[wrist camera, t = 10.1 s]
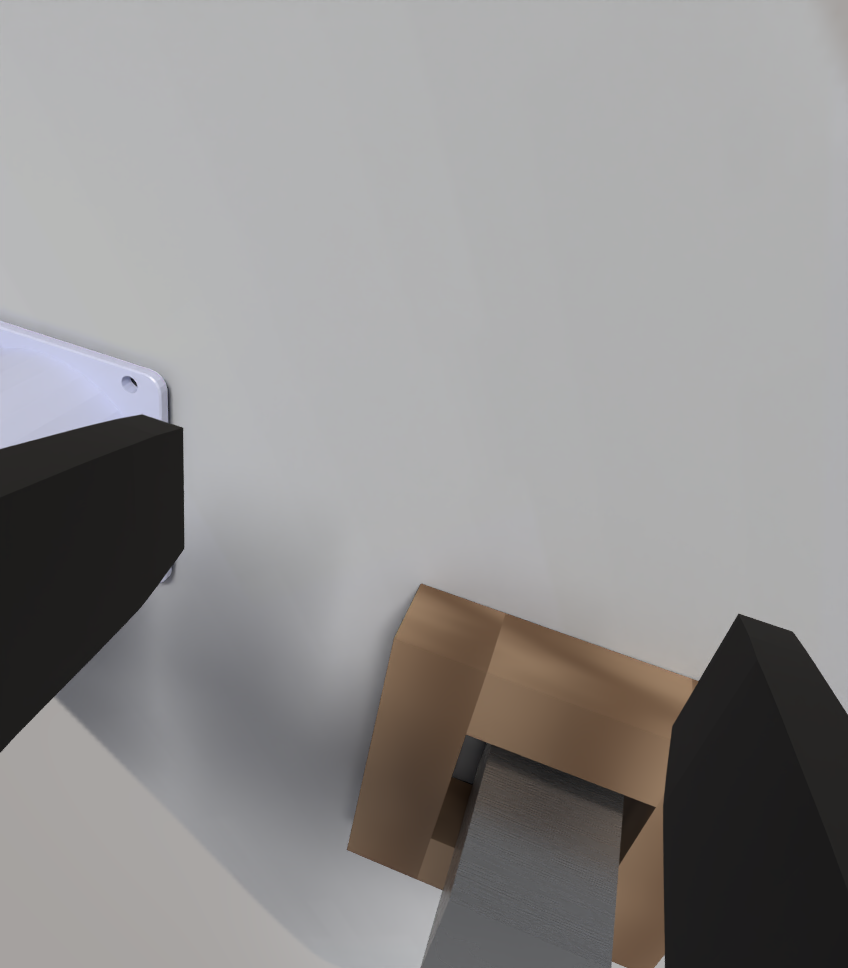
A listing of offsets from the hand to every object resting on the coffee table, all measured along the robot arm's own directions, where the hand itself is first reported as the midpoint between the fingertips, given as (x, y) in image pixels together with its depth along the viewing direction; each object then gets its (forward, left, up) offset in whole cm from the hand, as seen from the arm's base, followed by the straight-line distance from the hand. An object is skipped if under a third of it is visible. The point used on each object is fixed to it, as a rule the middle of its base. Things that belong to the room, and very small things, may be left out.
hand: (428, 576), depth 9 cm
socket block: (+4, -14, -9) cm, 17 cm away
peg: (+4, -14, -9) cm, 17 cm away
